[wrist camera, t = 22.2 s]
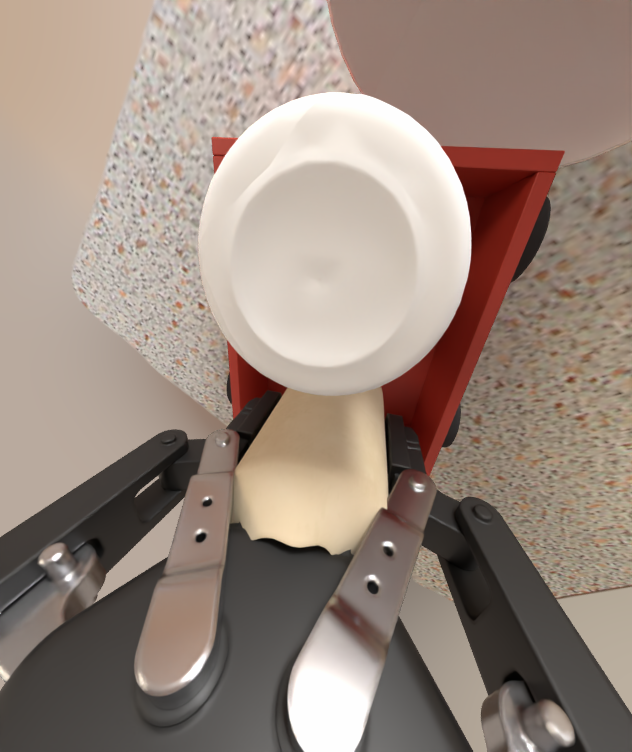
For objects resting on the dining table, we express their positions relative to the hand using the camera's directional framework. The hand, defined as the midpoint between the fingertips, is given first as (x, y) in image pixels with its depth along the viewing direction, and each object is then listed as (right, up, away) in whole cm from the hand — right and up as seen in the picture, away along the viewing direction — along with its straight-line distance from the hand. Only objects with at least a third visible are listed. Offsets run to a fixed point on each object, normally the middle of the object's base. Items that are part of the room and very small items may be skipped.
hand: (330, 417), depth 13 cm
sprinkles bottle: (+2, +10, +3) cm, 10 cm away
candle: (+1, +1, +2) cm, 3 cm away
